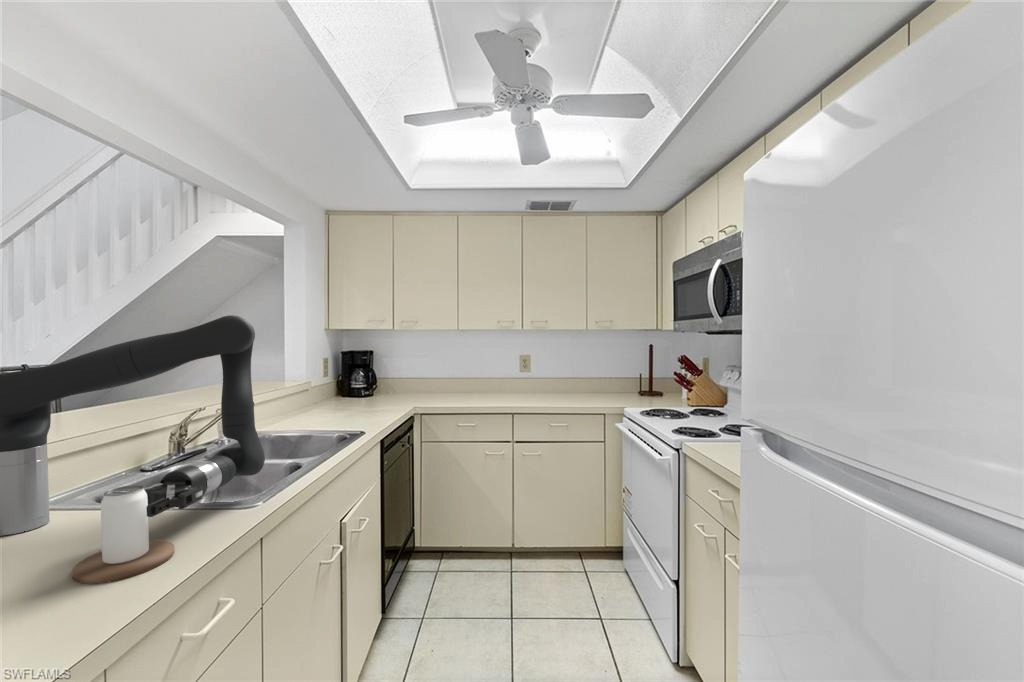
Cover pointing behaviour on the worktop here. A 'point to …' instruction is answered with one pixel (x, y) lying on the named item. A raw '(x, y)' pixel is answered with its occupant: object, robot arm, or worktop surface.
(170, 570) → the worktop surface
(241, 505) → the worktop surface
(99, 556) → the disc
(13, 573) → the worktop surface
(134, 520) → the can
